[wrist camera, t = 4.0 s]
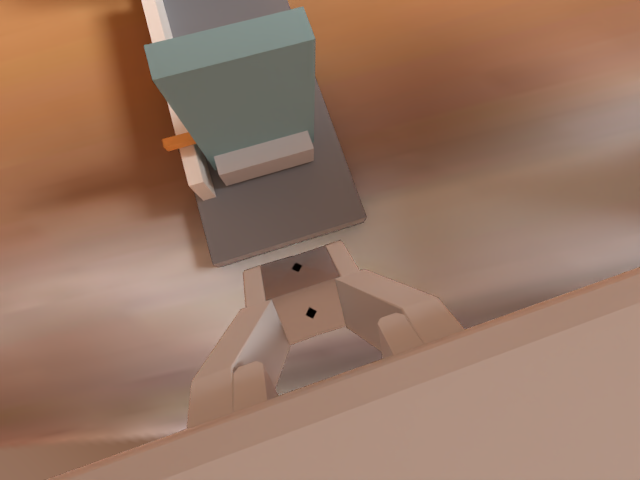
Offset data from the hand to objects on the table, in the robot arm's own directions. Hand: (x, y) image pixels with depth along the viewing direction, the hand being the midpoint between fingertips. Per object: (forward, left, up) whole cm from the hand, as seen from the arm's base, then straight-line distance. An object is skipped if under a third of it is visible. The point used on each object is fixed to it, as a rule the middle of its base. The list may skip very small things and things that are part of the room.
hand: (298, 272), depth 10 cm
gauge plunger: (+1, -12, -14) cm, 18 cm away
